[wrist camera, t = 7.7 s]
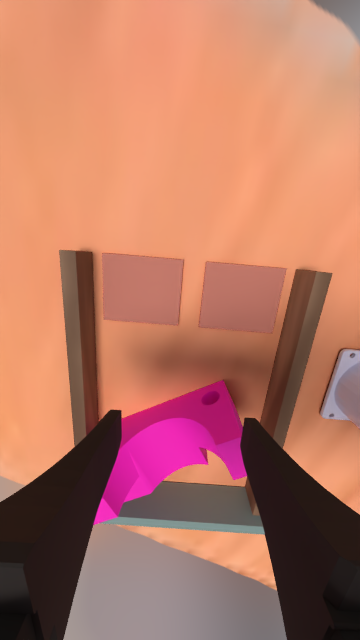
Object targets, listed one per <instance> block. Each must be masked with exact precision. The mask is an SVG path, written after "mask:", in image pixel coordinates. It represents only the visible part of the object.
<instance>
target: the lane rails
mask: <svg viewBox="0 0 360 640" xmlns="http://www.w3.org/2000/svg"><path fill="white" fill-rule="evenodd" d="M59 254H60V267H61V279H62V292H63V305H64V317H65V330H66V343H67V356H68V368H69V381H70V394H71V406H72V419H73V432H74V444H75V446H76V445H77V444H78V443H79V442H80V441H82V440H83V439H84V438H85V437H86V436H87V434H88V433H89V432H90V431H91V430H92V429H93V428H94V427H95V426H96V425H97V424H98V403H97V375H96V348H95V320H94V293H93V265H92V252H86V251H71V250H59ZM331 277H332V273H326V272H317V271H309V270H297V269H296V272H295V276H294V281H293V285H292V289H291V294H290V298H289V302H288V306H287V311H286V315H285V319H284V323H283V328H282V332H281V336H280V340H279V345H278V349H277V353H276V358H275V362H274V366H273V370H272V375H271V379H270V383H269V387H268V392H267V396H266V400H265V404H264V409H263V413H262V417H261V422H260V424H261V425H262V426H263V428H264V429H265V430H266V431H267V432H268V433H269V435H270V436H271V437H272V438H273V439H274V440H275V441H276V442H277V443H278V445H279V446H280V447H281V448H282V449H283V446H284V442H285V438H286V435H287V431H288V428H289V424H290V421H291V417H292V414H293V410H294V407H295V403H296V400H297V396H298V393H299V389H300V386H301V382H302V379H303V375H304V372H305V368H306V365H307V361H308V358H309V354H310V350H311V347H312V343H313V340H314V336H315V333H316V329H317V326H318V322H319V319H320V315H321V312H322V308H323V305H324V301H325V298H326V294H327V291H328V287H329V284H330V280H331ZM245 489H246V492H247V496H248V500H249V503H250V507H251V511H252V514H253V515H255V516H260V514H259V510H258V507H257V504H256V501H255V498H254V495H253V492H252V489H251V486H250V483H249V480H248V477H247V481H246V485H245Z"/></svg>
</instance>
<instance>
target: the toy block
mask: <svg viewBox="0 0 360 640" xmlns="http://www.w3.org/2000/svg"><path fill="white" fill-rule="evenodd" d="M121 421H122V440H121V444H120V448H119V452H118V455H117V459H116V461H115V464H114V467H113V470H112V472H111V475H110V478H109V480H108V483H107V486H106V488H105V491H104V494H103V496H102V499H101V502H100V505H99V508H98V511H97V514H96V517H95V521H94V524H93V525H95V524H98V523H101V522H104V521H107V520H111V519H114V518H117V517H118V515H119V513H120V510H121V507H122V505H123V503H124V502H127V501H130V500H133V499H136V498H139V497H142V496H145V495H148V494H151V493H152V492H153V490H154V489H155V488H156V487H157V486H158V485H159V483H161V482H162V481H163V480H164V479H165V478H166V477H167V476H168V475H170V474H171V473H173V472H174V471H176V470H178V469H180V468H182V467H185V466H188V465H193V464H206V465H208V459H207V451H206V449H207V450H209V451H211V452H213V453H215V454H216V455H217V456H218V457H220V458H221V459H222V461H223V462H224V463H225V464H226V466H227V468H228V470H229V472H230V474H231V476H232V478H233V480H236V479H239V478H242V477H245V476H247V473H246V470H245V467H244V463H243V459H242V454H241V449H240V442H241V436H242V431H243V427H242V424H241V421H240V418H239V415H238V413H237V410H236V407H235V405H234V403H233V401H232V398H231V396H230V394H229V392H228V389H227V387H226V385H225V383H224V381H223V380H222V381H219V382H216V383H214V384H211V385H209V386H206V387H203V388H201V389H198V390H196V391H193V392H190V393H188V394H185V395H182V396H180V397H177V398H175V399H172V400H169V401H167V402H164V403H162V404H159V405H156V406H154V407H151V408H148V409H146V410H143V411H141V412H138V413H135V414H133V415H130V416H128V417H125V418H122V419H121Z"/></svg>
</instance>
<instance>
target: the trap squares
mask: <svg viewBox="0 0 360 640" xmlns="http://www.w3.org/2000/svg"><path fill="white" fill-rule="evenodd" d="M102 263H103V306H104V320H115V321H128V322H140V323H152V324H165V325H177V326H178V319H179V307H180V295H181V283H182V271H183V260H180V259H168V258H156V257H145V256H133V255H121V254H110V253H102ZM285 273H286V269H285V268H274V267H262V266H250V265H238V264H227V263H215V262H206V267H205V276H204V285H203V293H202V302H201V311H200V320H199V327H202V328H214V329H226V330H239V331H251V332H263V333H272V332H273V328H274V323H275V319H276V314H277V310H278V305H279V300H280V296H281V291H282V287H283V282H284V278H285Z"/></svg>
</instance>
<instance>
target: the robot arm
mask: <svg viewBox="0 0 360 640" xmlns="http://www.w3.org/2000/svg"><path fill="white" fill-rule="evenodd" d="M350 354H352V355H351V356H350ZM320 415H321V416H322V417H323V418H325V419H337V420H351V421H352V422H353V423H354V424H355V425H356V426H357V427H358V428H359V429H360V350H354V349H343V350H342V351H341V352H340V354H339V357H338V360H337V363H336V366H335V369H334V372H333V375H332V378H331V381H330V384H329V387H328V390H327V393H326V396H325V399H324V402H323V406H322V409H321V412H320ZM121 440H122V421H121V410H110V411H109V412H108V413H107V414H106V415H105V416H104V417H103V419H102V420H101V421H100V422H99V423H98V424H97V425H96V426H95V427H94V428H93V429H92V430H91V431H90V432H89V433H88V434H87V436H86V437H85V438H84V439H83V440H82V441H80V442H79V443H78V444H77V445H76V446H75V447H74V448H73V449H72V450H71V451H70V452H69V453H68V454H66V455H65V456H64V457H63V458H62V459H61V460H59V461H58V462H57V463H56V464H55V465H53V466H52V467H51V468H50V469H48V470H47V471H46V472H44V473H43V474H42V475H40V476H39V477H38V478H36V479H35V480H34V481H32V482H31V483H29V484H28V485H26V486H25V487H23V488H22V489H20V490H19V491H18V492H16V493H14V494H13V495H11V496H10V497H8V498H6V499H5V500H3V501H2V502H0V640H63V638H64V634H65V630H66V626H67V622H68V618H69V614H70V610H71V606H72V602H73V598H74V594H75V590H76V587H77V583H78V579H79V575H80V571H81V567H82V564H83V560H84V557H85V553H86V549H87V546H88V542H89V538H90V535H91V531H92V528H93V524H94V521H95V517H96V514H97V511H98V508H99V505H100V502H101V499H102V496H103V494H104V491H105V488H106V486H107V483H108V480H109V478H110V475H111V472H112V470H113V467H114V464H115V461H116V459H117V455H118V452H119V448H120V444H121ZM240 449H241V454H242V459H243V463H244V467H245V470H246V473H247V477H248V480H249V483H250V486H251V489H252V492H253V495H254V498H255V501H256V504H257V507H258V510H259V514H260V517H261V521H262V524H263V529H264V533H265V537H266V541H267V545H268V550H269V554H270V559H271V563H272V567H273V572H274V577H275V581H276V586H277V591H278V596H279V601H280V606H281V611H282V615H283V620H284V626H285V632H286V637H287V640H360V515H359V514H358V513H356V512H355V511H354V510H352V509H351V508H350V507H348V506H347V505H345V504H344V503H343V502H341V501H340V500H339V499H338V498H336V497H335V496H334V495H333V494H331V493H330V492H329V491H327V490H326V489H325V488H324V487H323V486H321V485H320V484H319V483H318V482H317V481H316V480H314V479H313V478H312V477H311V476H310V475H309V474H308V473H306V472H305V471H304V470H303V469H302V468H301V467H300V466H299V465H298V464H297V463H296V462H295V461H294V460H293V459H292V458H291V457H290V456H289V455H288V454H287V453H286V452H285V451H284V450H283V449H282V448H281V447H280V446H279V445H278V443H277V442H276V441H275V440H274V439H273V438H272V437H271V436H270V435H269V433H268V432H267V431H266V430H265V429H264V428H263V426H262V425H261V424H260V423H259V422H258V421H257V420H256V419H255V418H245V420H244V426H243V431H242V436H241V442H240Z"/></svg>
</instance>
